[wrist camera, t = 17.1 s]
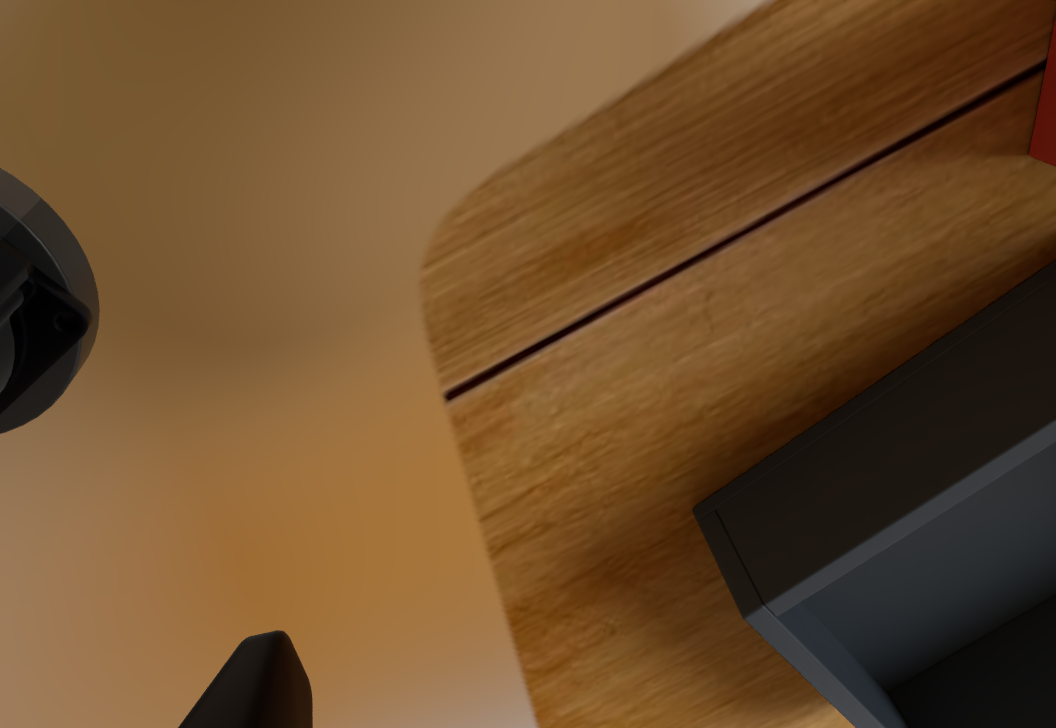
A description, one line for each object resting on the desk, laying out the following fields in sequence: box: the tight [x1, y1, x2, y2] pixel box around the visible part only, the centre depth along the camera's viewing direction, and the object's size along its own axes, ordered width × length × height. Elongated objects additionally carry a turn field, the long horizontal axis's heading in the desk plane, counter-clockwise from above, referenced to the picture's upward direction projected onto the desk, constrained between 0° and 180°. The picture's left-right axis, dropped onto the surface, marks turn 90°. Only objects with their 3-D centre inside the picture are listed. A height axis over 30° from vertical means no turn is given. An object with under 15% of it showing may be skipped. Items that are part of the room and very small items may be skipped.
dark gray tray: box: [692, 260, 1056, 728], centre depth 25 cm, size 15×13×5 cm
